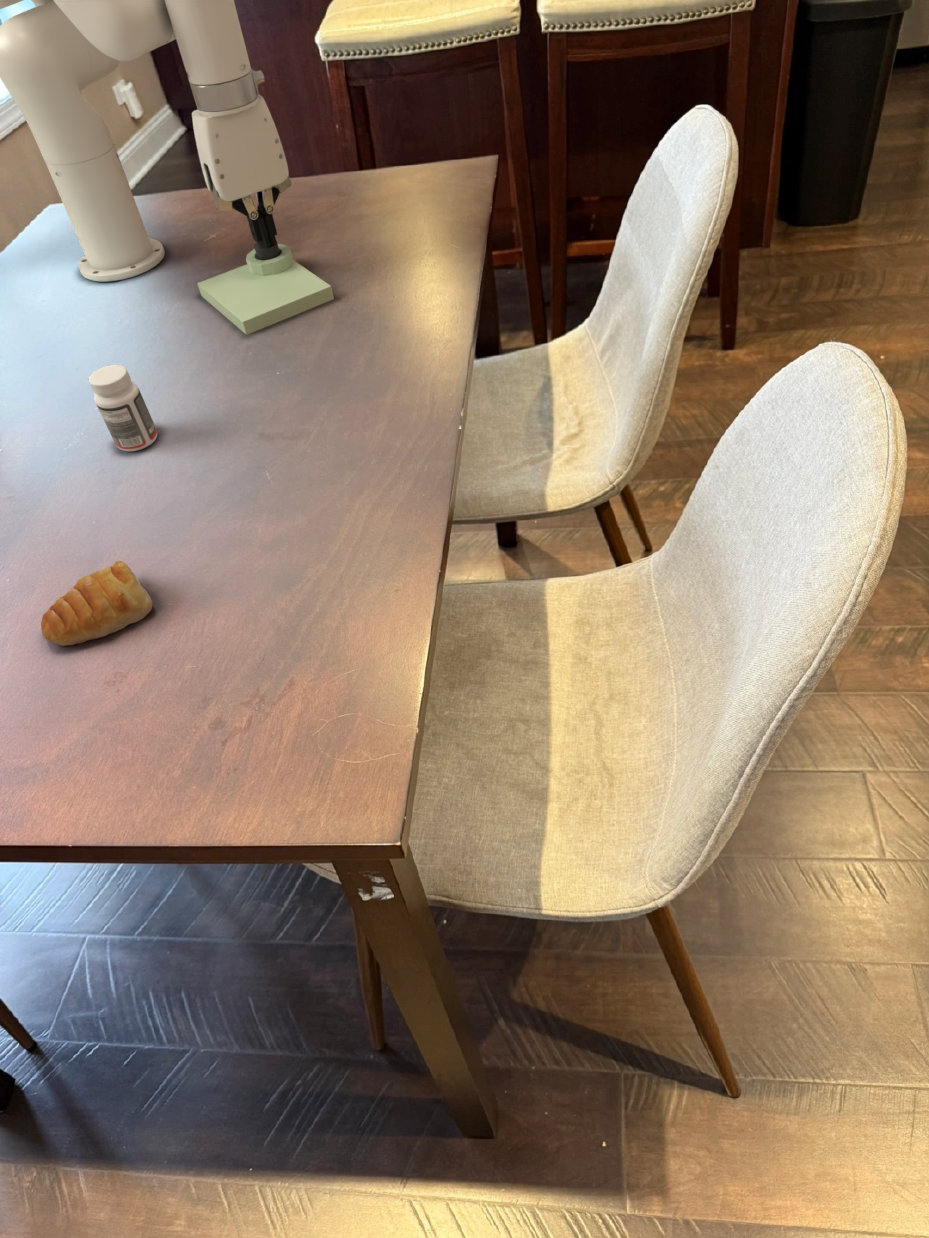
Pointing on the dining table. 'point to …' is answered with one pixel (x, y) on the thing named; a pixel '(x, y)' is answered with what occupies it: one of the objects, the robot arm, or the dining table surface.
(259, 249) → the button
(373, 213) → the dining table surface
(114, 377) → the pill bottle
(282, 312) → the green button base
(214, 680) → the dining table surface
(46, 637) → the pastry
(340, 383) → the dining table surface
